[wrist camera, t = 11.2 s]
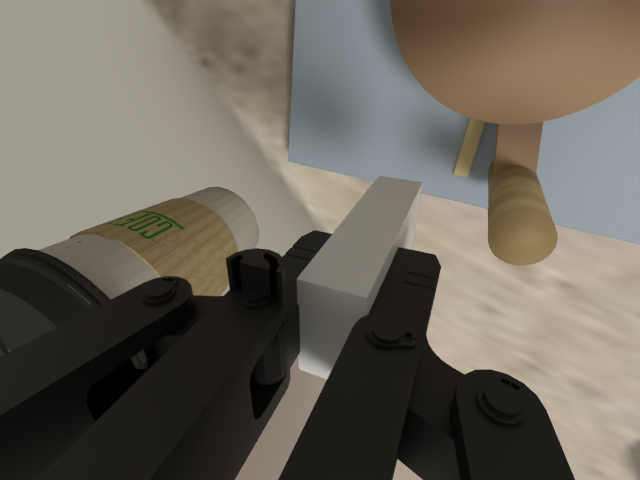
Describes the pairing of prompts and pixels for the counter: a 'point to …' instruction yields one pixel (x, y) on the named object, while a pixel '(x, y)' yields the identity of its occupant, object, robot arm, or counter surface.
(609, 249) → the counter surface
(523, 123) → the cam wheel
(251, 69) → the counter surface
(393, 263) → the robot arm
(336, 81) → the blue board
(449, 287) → the counter surface
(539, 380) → the counter surface
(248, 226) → the coffee cup
